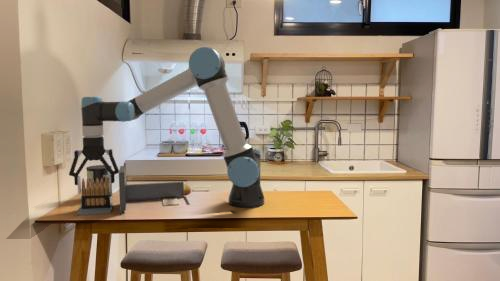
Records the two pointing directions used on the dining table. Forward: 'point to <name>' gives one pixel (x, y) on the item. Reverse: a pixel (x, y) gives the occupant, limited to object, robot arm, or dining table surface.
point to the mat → (95, 210)
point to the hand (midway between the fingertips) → (95, 192)
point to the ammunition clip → (93, 200)
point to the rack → (147, 191)
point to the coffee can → (98, 175)
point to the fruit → (186, 189)
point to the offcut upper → (170, 202)
